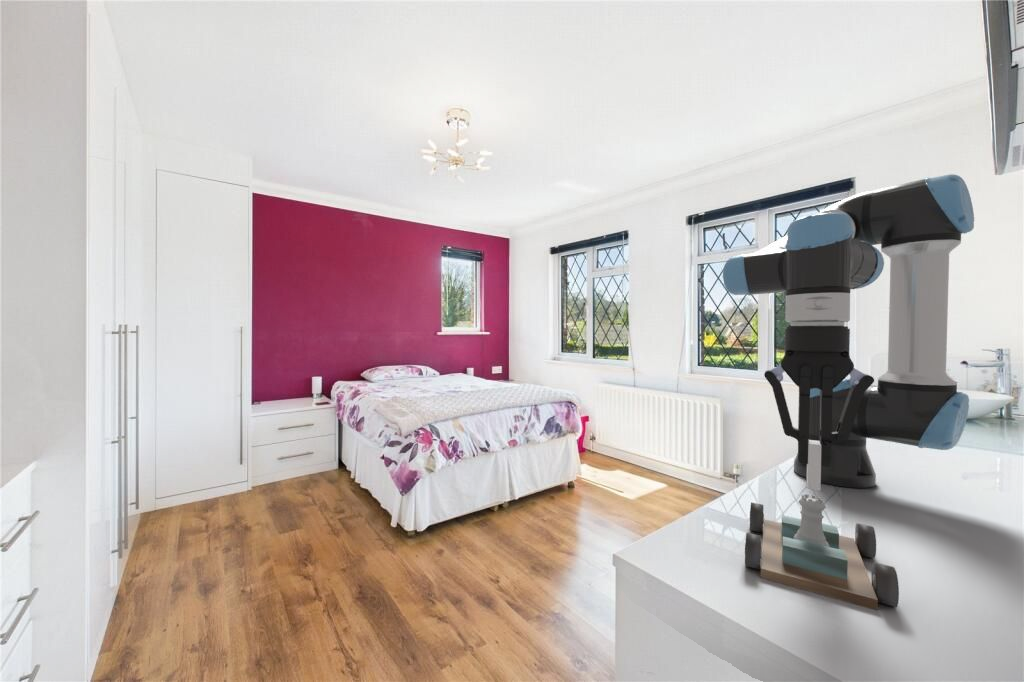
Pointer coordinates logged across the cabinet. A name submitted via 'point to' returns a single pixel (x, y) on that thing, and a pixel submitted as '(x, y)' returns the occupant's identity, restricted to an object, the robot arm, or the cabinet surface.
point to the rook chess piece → (811, 521)
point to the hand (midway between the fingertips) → (813, 486)
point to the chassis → (820, 561)
